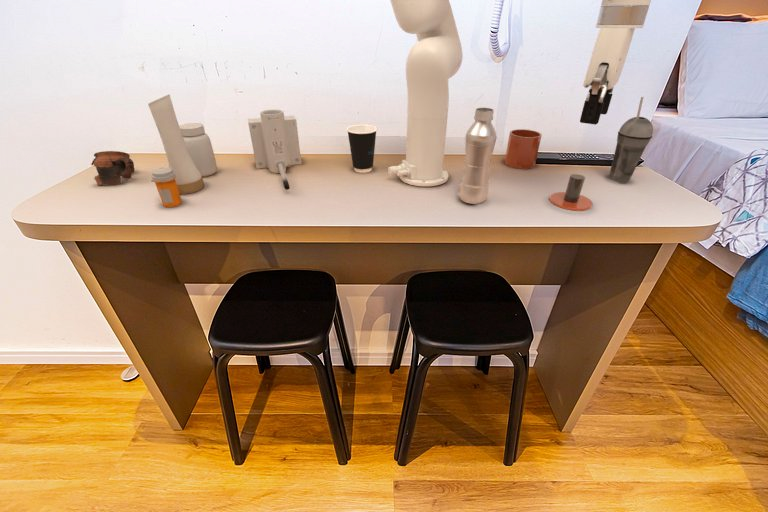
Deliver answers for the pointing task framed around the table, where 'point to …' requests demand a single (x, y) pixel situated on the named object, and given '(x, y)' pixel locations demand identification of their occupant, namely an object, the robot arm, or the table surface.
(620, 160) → the beverage cup
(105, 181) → the pottery mug
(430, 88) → the robot arm
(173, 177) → the toiletry set
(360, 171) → the dixie cup
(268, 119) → the electronic device
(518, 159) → the storage jar
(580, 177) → the jar lid
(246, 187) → the table surface
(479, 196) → the metal water bottle
